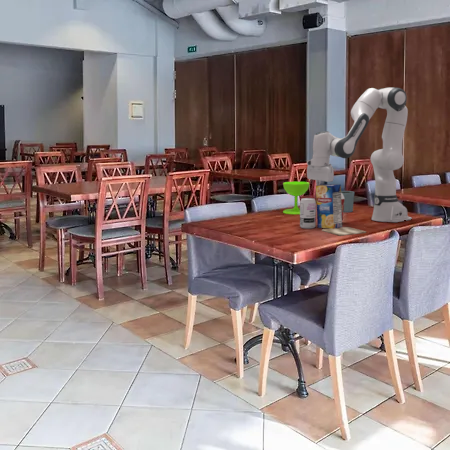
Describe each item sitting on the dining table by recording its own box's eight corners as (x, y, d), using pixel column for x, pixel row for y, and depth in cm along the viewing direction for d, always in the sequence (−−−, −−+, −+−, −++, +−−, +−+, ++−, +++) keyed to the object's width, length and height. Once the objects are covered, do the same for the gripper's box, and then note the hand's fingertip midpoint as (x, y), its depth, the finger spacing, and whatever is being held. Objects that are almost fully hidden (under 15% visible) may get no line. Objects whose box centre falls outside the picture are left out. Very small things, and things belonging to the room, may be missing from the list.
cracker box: (333, 228, 288) (332, 185, 285) (317, 227, 296) (315, 185, 294) (342, 227, 292) (340, 184, 289) (325, 225, 301) (324, 184, 298)
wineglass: (278, 211, 352) (278, 182, 349) (302, 209, 357) (302, 181, 353) (289, 215, 337) (289, 184, 334) (313, 213, 342) (314, 183, 338)
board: (347, 227, 294) (347, 226, 294) (366, 232, 280) (366, 231, 280) (321, 230, 287) (321, 229, 287) (339, 235, 274) (339, 234, 274)
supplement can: (305, 225, 303) (305, 197, 300) (318, 226, 298) (318, 198, 295) (296, 227, 297) (297, 199, 294) (310, 229, 291) (310, 200, 289)
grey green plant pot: (356, 210, 349) (356, 191, 347) (350, 213, 341) (350, 193, 338) (340, 209, 354) (340, 190, 352) (334, 211, 346) (334, 192, 344)
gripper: (337, 163, 288) (336, 190, 290) (315, 161, 306) (314, 186, 309) (327, 164, 285) (325, 191, 288) (305, 161, 304) (304, 187, 306)
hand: (319, 189), depth 298 cm, fingers closed
